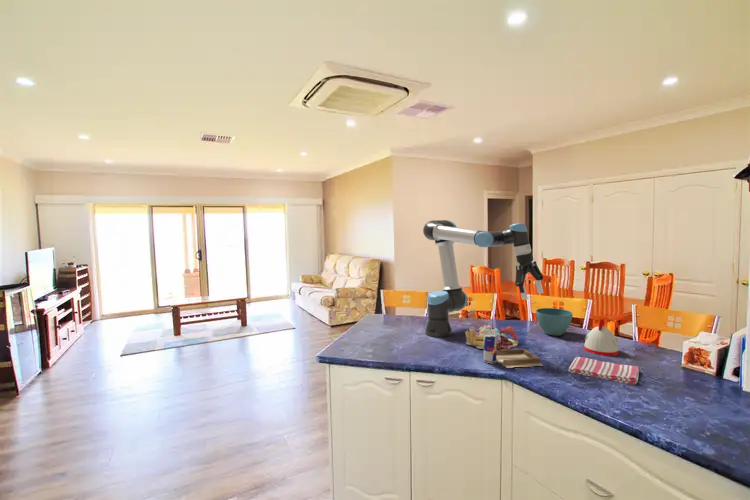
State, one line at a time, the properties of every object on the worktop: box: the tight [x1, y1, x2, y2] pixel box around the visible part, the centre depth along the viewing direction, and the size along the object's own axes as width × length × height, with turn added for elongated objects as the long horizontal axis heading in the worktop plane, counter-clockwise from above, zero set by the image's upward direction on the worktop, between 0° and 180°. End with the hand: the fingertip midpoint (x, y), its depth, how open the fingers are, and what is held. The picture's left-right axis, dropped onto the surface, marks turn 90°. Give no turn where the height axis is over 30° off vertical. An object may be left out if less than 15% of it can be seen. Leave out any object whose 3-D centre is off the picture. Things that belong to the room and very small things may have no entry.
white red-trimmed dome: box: [584, 318, 620, 357], centre depth 174 cm, size 14×14×15 cm
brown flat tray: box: [496, 348, 544, 369], centre depth 164 cm, size 18×16×3 cm
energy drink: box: [483, 334, 497, 365], centre depth 163 cm, size 5×5×12 cm
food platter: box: [464, 324, 519, 350], centre depth 189 cm, size 25×24×9 cm
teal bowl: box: [535, 307, 574, 337], centre depth 203 cm, size 18×18×12 cm
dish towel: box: [567, 356, 639, 386], centre depth 149 cm, size 17×23×4 cm
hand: (533, 296), depth 181 cm, fingers open, 13 cm apart
